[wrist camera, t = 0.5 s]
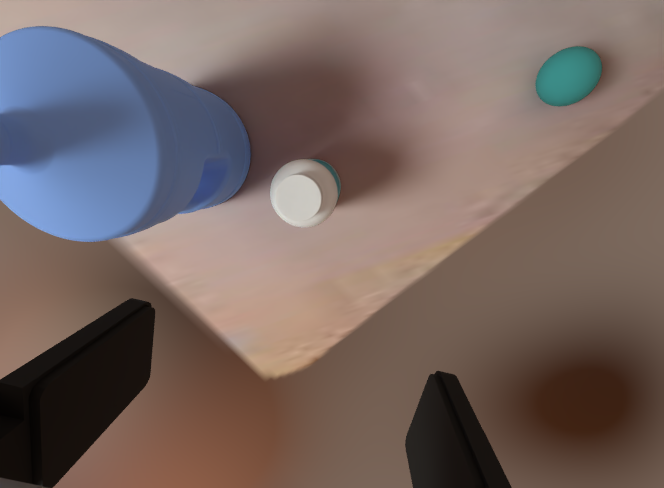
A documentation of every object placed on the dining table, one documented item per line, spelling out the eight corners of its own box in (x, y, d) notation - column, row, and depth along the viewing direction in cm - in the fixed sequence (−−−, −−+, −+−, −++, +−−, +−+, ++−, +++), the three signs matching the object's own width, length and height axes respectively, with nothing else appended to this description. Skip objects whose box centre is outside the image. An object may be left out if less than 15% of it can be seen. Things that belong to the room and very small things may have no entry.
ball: (518, 73, 38) (548, 58, 32) (567, 46, 37) (607, 25, 31) (534, 119, 39) (566, 112, 33) (582, 93, 38) (624, 82, 32)
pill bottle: (316, 147, 42) (301, 141, 29) (352, 188, 43) (352, 202, 30) (277, 183, 43) (245, 194, 30) (312, 223, 45) (296, 249, 32)
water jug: (125, 103, 42) (-287, 2, 15) (235, 76, 40) (-5, -95, 13) (164, 215, 46) (-106, 297, 19) (265, 195, 44) (129, 252, 17)
